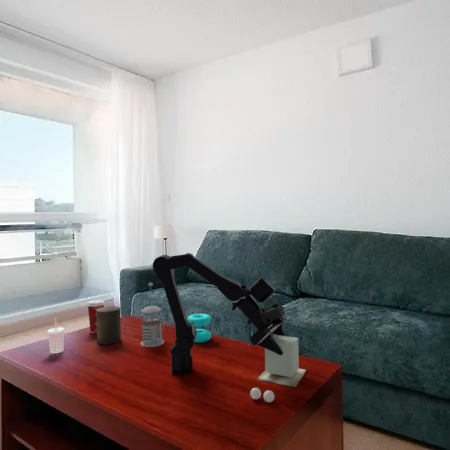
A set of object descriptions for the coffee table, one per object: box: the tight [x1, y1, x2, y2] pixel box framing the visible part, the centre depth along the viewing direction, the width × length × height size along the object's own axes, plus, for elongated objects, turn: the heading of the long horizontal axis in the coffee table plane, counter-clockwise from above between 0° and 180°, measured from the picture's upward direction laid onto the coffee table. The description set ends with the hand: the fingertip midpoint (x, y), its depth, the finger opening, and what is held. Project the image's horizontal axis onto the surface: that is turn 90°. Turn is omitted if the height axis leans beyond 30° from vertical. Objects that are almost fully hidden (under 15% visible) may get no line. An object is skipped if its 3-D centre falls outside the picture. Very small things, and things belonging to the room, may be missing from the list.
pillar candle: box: [96, 305, 122, 345], centre depth 152 cm, size 10×10×15 cm
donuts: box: [186, 313, 212, 344], centre depth 151 cm, size 10×10×10 cm
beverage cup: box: [47, 316, 66, 353], centre depth 139 cm, size 6×6×14 cm
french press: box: [139, 282, 166, 348], centre depth 147 cm, size 10×12×25 cm
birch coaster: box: [257, 368, 307, 388], centre depth 114 cm, size 12×12×1 cm
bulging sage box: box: [264, 334, 300, 377], centre depth 114 cm, size 9×7×10 cm
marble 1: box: [249, 387, 262, 400], centre depth 100 cm, size 3×3×3 cm
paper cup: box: [86, 299, 106, 333], centre depth 164 cm, size 8×8×14 cm
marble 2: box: [263, 389, 275, 403], centre depth 98 cm, size 3×3×3 cm
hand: (285, 350), depth 114 cm, fingers closed on bulging sage box, 7 cm apart
